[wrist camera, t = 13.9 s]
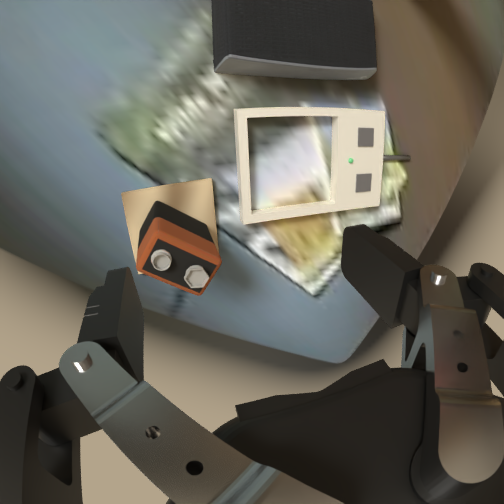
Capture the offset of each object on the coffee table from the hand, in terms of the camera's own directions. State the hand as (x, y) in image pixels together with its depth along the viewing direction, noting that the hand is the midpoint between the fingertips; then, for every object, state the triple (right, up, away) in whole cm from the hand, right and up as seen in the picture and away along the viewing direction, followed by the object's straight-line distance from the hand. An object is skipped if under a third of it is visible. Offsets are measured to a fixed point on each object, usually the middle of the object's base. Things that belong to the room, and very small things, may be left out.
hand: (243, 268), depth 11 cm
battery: (-9, +3, +23) cm, 25 cm away
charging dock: (+11, +12, +26) cm, 30 cm away
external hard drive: (+5, +26, +17) cm, 32 cm away
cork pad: (-9, +3, +24) cm, 25 cm away
